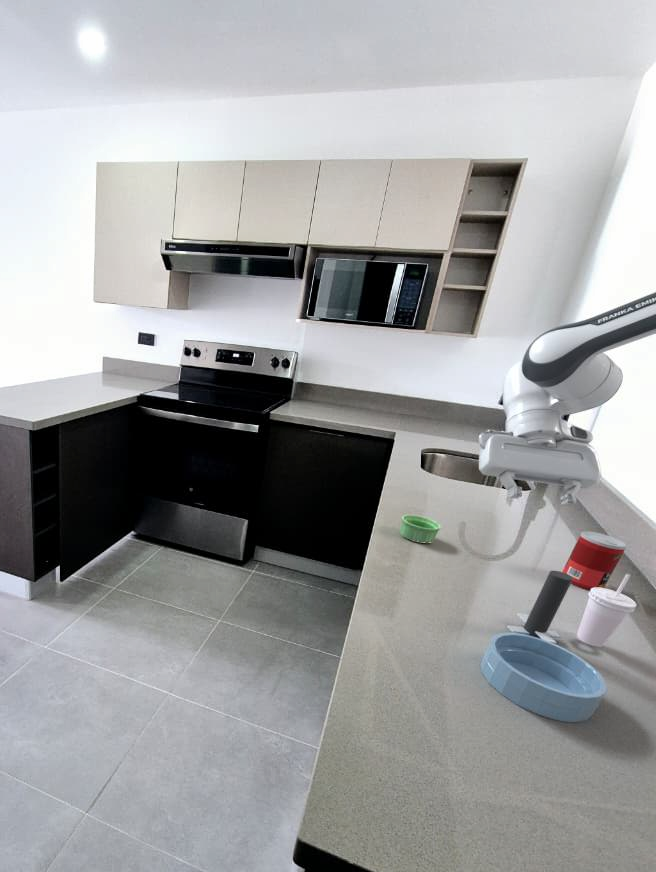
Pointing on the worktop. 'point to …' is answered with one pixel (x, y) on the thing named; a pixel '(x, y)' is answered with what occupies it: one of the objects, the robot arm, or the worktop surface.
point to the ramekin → (419, 528)
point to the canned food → (593, 559)
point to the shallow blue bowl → (542, 677)
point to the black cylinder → (545, 608)
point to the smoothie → (604, 614)
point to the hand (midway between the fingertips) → (542, 500)
